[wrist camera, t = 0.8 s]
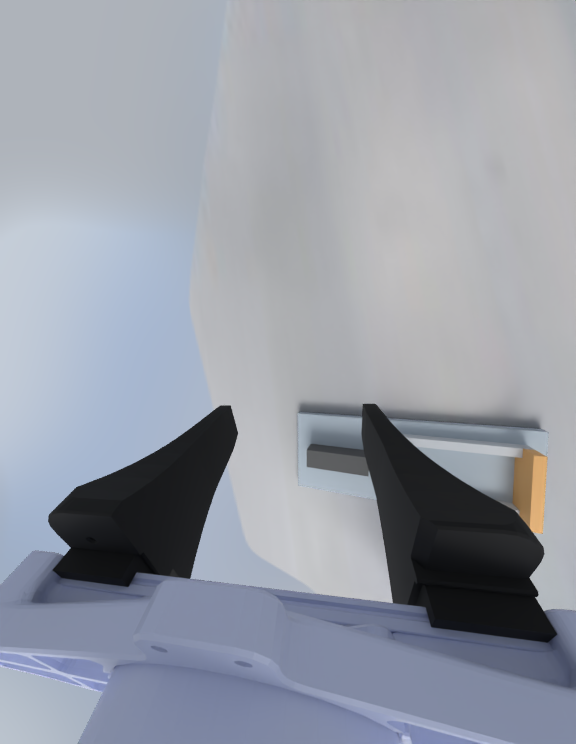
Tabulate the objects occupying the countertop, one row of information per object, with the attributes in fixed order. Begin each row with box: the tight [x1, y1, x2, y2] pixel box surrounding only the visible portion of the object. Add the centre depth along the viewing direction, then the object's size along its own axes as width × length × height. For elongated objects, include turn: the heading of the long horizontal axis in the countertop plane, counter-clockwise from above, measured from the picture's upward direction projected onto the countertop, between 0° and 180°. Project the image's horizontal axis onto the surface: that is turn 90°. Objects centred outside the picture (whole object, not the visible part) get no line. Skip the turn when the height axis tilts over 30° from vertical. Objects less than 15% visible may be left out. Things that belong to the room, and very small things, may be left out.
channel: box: [298, 412, 549, 534], centre depth 29 cm, size 11×28×4 cm, turn 92°
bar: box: [307, 444, 369, 476], centre depth 32 cm, size 2×8×2 cm, turn 92°
